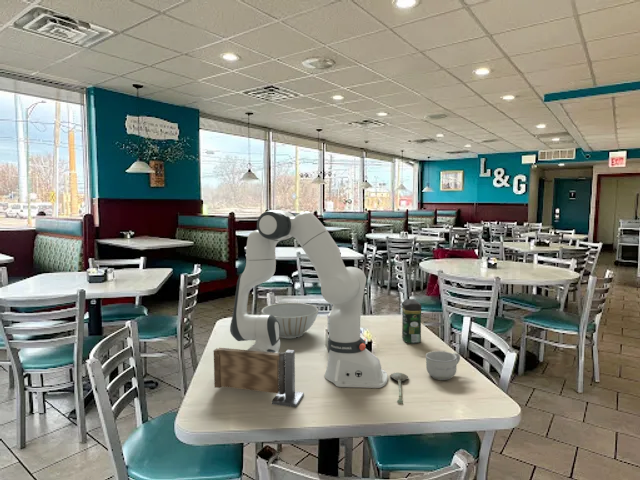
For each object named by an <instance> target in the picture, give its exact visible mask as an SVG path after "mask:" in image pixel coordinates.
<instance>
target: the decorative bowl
mask: <svg viewBox="0 0 640 480" xmlns="http://www.w3.org/2000/svg"><path fill="white" fill-rule="evenodd" d="M260 311H261V315H273V316H274V317H275V318H276V319H277V321H278V322H279V325H280V338H282V339H296V337H298V338H300V336H301V337H302V336H304V333H305V332H307V331H308V330H309V329H310V328H311V327H313V325H314V323H315V321H316V320H317V317H318V314H319V308H318V307H317V306H316V305H313V304H311V303H310V304H308V303H303V302H279V303H274V304H270V305H267V306H264V307H262V308H261V310H260Z"/></svg>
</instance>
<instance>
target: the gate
mask: <svg viewBox="0 0 640 480" xmlns="http://www.w3.org/2000/svg"><path fill="white" fill-rule="evenodd" d="M213 376H214V377H213V379H214V380H213V381H214V388H216V389H220V388H222V387H223V388H231V389H240V390H246V391H256V392H263V393H264V392H266V393H272V394H273V393H274V394H278V392H279V394H285V352H283V351H282V352H279V353H271V352H261V351H250V350H248V349H237V348H229V347H219V348H214V350H213Z"/></svg>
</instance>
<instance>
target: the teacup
mask: <svg viewBox="0 0 640 480" xmlns="http://www.w3.org/2000/svg"><path fill="white" fill-rule="evenodd" d="M460 360H461V356H460V354H459V353H457V352H453V353H452V352H449V351H445V350H437V351H436V350H435V351H429V352H426V354H425V364H426V365H425V366H426V371H427V374H428V375H430V376H431V378H433V379H434V380H439V381H446V380H451V379H452V377H455V375H456V373H457V366H458V364H459V363H460Z"/></svg>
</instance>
